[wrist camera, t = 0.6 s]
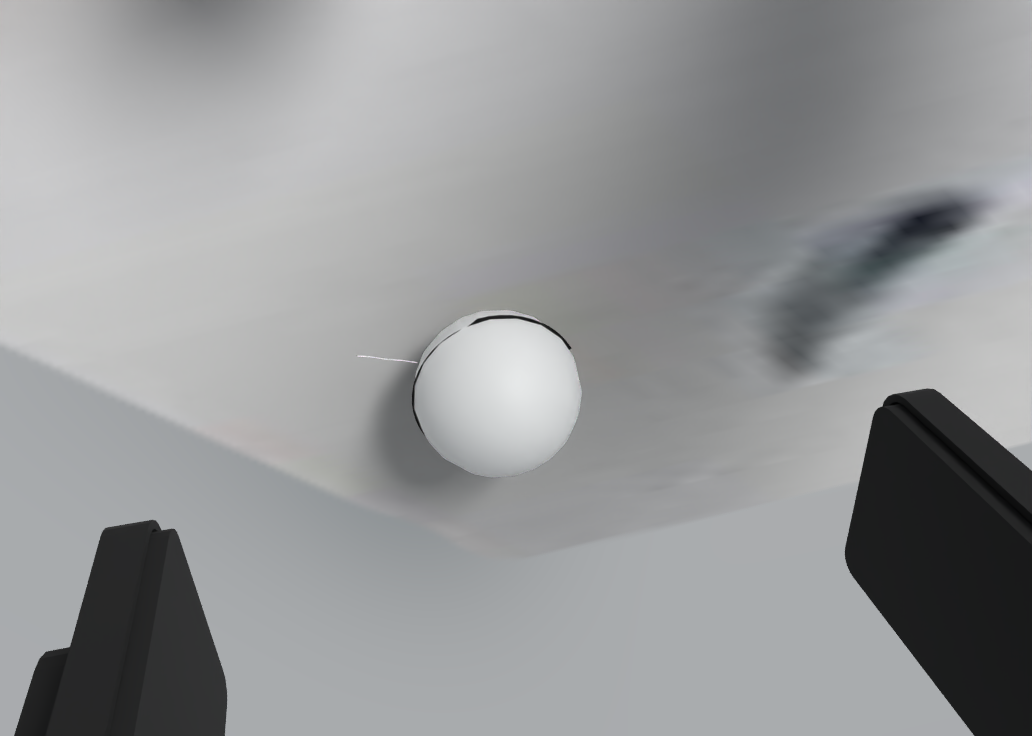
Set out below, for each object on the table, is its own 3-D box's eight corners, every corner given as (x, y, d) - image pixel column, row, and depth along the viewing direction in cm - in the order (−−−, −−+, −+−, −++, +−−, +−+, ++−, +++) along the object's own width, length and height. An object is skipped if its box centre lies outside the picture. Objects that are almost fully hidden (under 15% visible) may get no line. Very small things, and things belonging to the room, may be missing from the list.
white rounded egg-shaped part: (588, 323, 41) (640, 407, 35) (499, 437, 44) (534, 535, 38) (411, 221, 37) (435, 296, 31) (322, 354, 39) (329, 449, 33)
